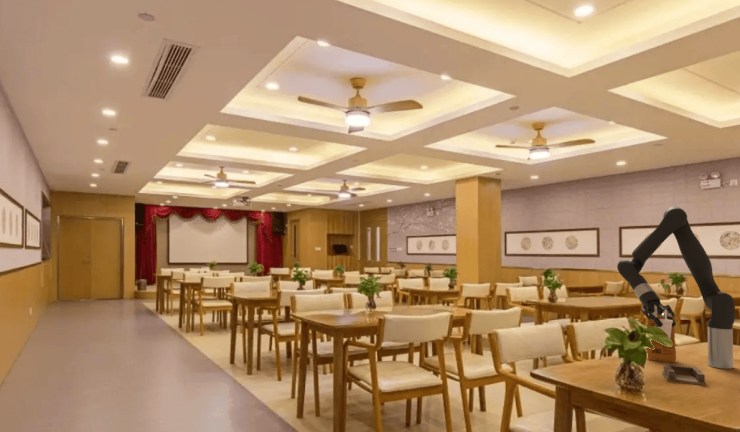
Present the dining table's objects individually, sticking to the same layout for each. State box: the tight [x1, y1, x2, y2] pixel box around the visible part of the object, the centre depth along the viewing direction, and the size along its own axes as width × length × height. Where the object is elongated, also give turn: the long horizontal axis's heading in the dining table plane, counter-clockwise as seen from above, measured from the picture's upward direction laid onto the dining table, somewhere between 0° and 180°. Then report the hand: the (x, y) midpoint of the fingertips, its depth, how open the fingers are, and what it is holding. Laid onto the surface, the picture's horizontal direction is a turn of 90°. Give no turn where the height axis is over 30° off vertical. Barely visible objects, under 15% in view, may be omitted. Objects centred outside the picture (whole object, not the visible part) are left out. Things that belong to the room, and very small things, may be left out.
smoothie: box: [658, 310, 673, 338], centre depth 220 cm, size 6×6×14 cm
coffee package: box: [645, 315, 677, 363], centre depth 237 cm, size 10×12×22 cm
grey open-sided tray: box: [661, 364, 707, 386], centre depth 203 cm, size 13×13×4 cm
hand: (667, 325), depth 218 cm, fingers closed on smoothie, 6 cm apart
